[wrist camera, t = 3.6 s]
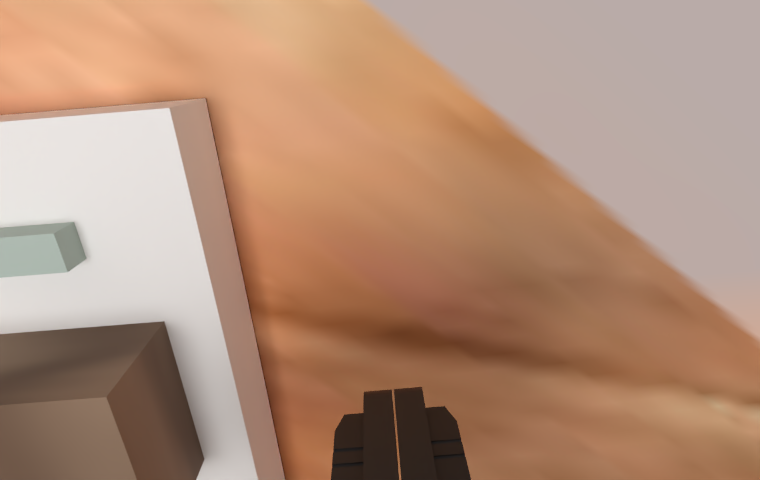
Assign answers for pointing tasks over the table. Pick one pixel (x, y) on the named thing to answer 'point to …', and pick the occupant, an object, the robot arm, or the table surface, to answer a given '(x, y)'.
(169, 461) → the walnut block
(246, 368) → the board
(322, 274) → the table surface
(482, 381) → the table surface
